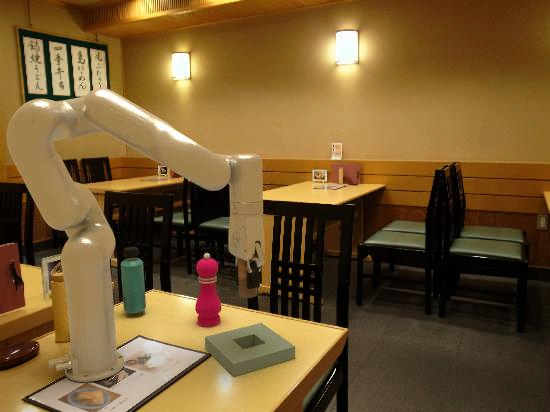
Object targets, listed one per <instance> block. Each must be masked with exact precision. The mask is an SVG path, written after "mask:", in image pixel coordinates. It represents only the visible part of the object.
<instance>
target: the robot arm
mask: <svg viewBox="0 0 550 412" xmlns="http://www.w3.org/2000/svg"><path fill="white" fill-rule="evenodd" d="M99 133H104V134H106V135H108V136H109V137H111V138H113V139H116V140H117V141H118V142H120V143H123V144H124V145H126V146H128V147H130V148H131V149H132V150H135V151H136V152H138V153H140V154H142V155H143V156H145V157H147V158H148V159H150V160H152V161H154V162H156V163H158V164H160V165H162V166H163V167H165V168H168V169H169V170H170V171H172V172H174V173H175V174H177V175H179V176H181V177H182V178H184V179H186V180H188V181H190V182H191V183H194V184H195V185H197V186H199V187H200V188H203V189H205V190H207V191H220V190H222V189H224V187H226V186H227V185H229V209H230V210H229V223H228V252H229V253H230V255H233V256H234V258H235V262H234V264H235V266H236V268H235V269H236V270H235V271H236V272H235V273H236V277H235V278H236V283H237V284H239V272H238V258H240V259H242V260H245V261H247V267H248V272H246V279H247V289H253V288H258V289H259V288H260V287H261V275H260V274H261V271H262V266H263V265H264V264H266V259H265V251H266V250H265V249H266V248H265V247H266V246H265V245H266V240H265V239H266V238H265V227H264V220H263V215H264V192H263V191H264V190H263V187H264V186H263V185H264V184H263V183H264V182H263V158H262V157H261V156H260V154H255V153H237V154H220V153H215V152H213V151H211V150H209V149H208V148H206V147H204V146H202V145H201V144H199V143H198V142H195V141H194V140H192V139H191V138H189V137H188V136H186V135H185V134H182V133H181V132H180V131H178V130H177V129H175V127H173V126H172V125H171V124H170V123H168V122H167V121H165V120H163V119H162V118H160V117H158V116H157V115H155V114H153V113H151V112H150V111H148V110H146V109H144V108H143V107H141V106H139V105H137V104H136V103H134V102H132V101H131V100H129V99H127V98H125V97H124V96H123V95H120V94H119V93H116V92H115V91H114V90H111V89H109V88H106V87H105V88H104V87H102V88H101V87H99V88H94V89H92V90H90V91H89V92H88V93H87V94H86V96H82V97H76V98H69V99H64V100H58V101H57V100H56V101H55V100H52V99H48V98H35V99H32V100H29V101H27V102H25V103H23V104H22V105H21V106H20V107H19V108H18V109H17V110H16V111H15V112H14V114H12V117H11V118H10V120H9V122H8V125H7V129H6V146H7V149H8V152H9V155H10V157H11V159H12V161H13V163H14V165H15V167H16V169H17V171H18V173H19V174H20V176H21V178H22V181H24V184H25V186H26V188H27V190H28V192H29V194H30V195H31V198H32V199H33V202H34V204H35V205H36V207H37V209H38V210H39V213H40V215H41V217H42V218H43V220H44V221H45V223H46V224H47V225H48V226H49V227H51V228H52V229H54V230H57V231H64V232H65V234H66V236H67V238H68V240H66V242H65V244H64V246H63V248H62V250H61V254H60V266H61V271H62V275H63V280H64V286H65V294H66V295H65V296H66V297H65V298H66V306H67V315H68V326H69V327H68V328H69V329H68V331H69V339H70V349H68V350H67V352H68V354H64V355H63V357H56V358H52V359H48V369H49V370H51V369H55V368H56V372H59V371H63V370H64V374H65V377H67V379H68V380H71V381H73V382H74V381H75V382H79V383H80V382H82V383H89V382H96V381H101V380H104V379H107V378H110V377H113V376H114V375H115V374H117V373H118V372H120V371H121V370H122V369H123V368H124V366H125V357H124V355H123V354H121V353H120V352H117V351H118V350H117V349H118V348H117V336H116V334H117V333H116V317H115V303H114V300H115V299H114V290H113V279H112V273H111V257H112V255H113V253H114V251H115V249H116V237H115V235H114V232H113V230H112V228H111V226H110V224H109V222H108V221H107V218H106V215H105V214H104V212H103V211H102V208H101V207H100V205H99V203H98V201H97V199H96V196H95V195H94V194H93V192H92V191H91V190H90V189H89V187H87V186H86V185H84V184H83V183H80V182H77V181H74V180H73V178H72V177H71V174H70V172H69V171H68V169H67V167H66V164H65V162H64V161H63V159H62V158H61V156H60V155H59V154H58V152H57V149H56V147H55V141H64V140H65V141H66V140H69V139H70V140H71V139H73V138H78V137H83V136H88V135H95V134H99ZM253 256H255V257H256V258H252V257H253ZM251 261H256V262H255V263H253V264H251Z"/></svg>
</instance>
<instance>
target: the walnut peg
mask: <svg viewBox="0 0 550 412" xmlns="http://www.w3.org/2000/svg"><path fill="white" fill-rule="evenodd" d="M252 258H256V257H255V256H253V257H252ZM255 262H256V261H251V264H253V263H255ZM237 267H238V272H239V283H238V296H239V297H240V298H244V299H245V298H246V299H247V298H248V299H249V298H255V297H257V296H258V292H259V291H258V289H259V287H258V288H253V289H247V279H246V272H248V267H247V261H245V260H242V259H240V258H238V266H237Z"/></svg>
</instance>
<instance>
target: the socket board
mask: <svg viewBox="0 0 550 412" xmlns="http://www.w3.org/2000/svg"><path fill="white" fill-rule="evenodd" d="M204 348H205V350H206V351H207V352H208V353H209V354H211V356H212V357H214V359H215V360H216V361H217V362H218V363H219V364H220V365H221V366H223V367H224V369H225V370H227V372H228V373H230V374H231V376H232V377H233V378H234V377H239V376H242V375H245V374H248V373H252V372H255V371H258V370H261V369H265V368H269V367H272V366H275V365H278V364H282V363H285V362H288V361H290V360H295V359H296V346H295V345H294V344H293V343H291V342H290V341H289V340H287V339H286V338H284V337H283V336H281V335H280V334H278V333H277V332H275V331H274V330H272V328H270V327H268V325H265V324H264V323H262V322H258V323H255V324H251V325H247V326H243V327H239V328H235V329H230V330H227V331H223V332H219V333H214V334H211V335H207V336H205V337H204Z"/></svg>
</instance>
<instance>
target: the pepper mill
mask: <svg viewBox="0 0 550 412" xmlns="http://www.w3.org/2000/svg"><path fill="white" fill-rule="evenodd" d="M218 264H219V263H218V262H217V261H216V260H215V259H214V258H211V254H210V253H208V252H206V253H204V255H203V258H202V259H200V260H198V261H197V263H196V268H195V271H196V273H197V275H198V277H197V279H198V282H199V284H200V285H199V286H200V288H199V293H198V297H197V299H196V301H195V305H194V306H195V309H194V310H195V312H196V314H197V315H198V316H197V325H198V326H200V327H202V328H211V327H215V326H217V325H219V324H220V323H221V316H220V313H221V312H222V302H221V300H220V298H219V297H220V296H219V294H218V293H217V289H216V282H217V280H218V279H217V273H218V271H219V265H218Z"/></svg>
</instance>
